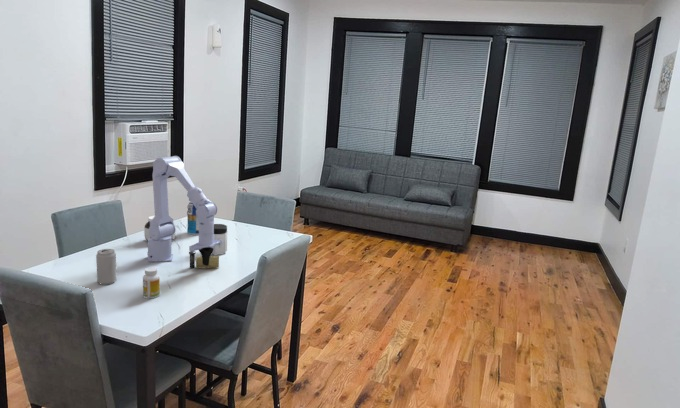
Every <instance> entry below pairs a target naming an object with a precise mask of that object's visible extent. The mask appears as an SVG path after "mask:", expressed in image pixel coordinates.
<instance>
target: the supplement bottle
mask: <svg viewBox="0 0 680 408" xmlns="http://www.w3.org/2000/svg"><path fill="white" fill-rule="evenodd" d="M160 284H161V283H160V275H159V273H158V268H156V267H152V266H151V267H146V268H145V269H144V274H143V276H142V294H143V295H142V296H143V297H144V298H146V299H154V298H157V297H159V296H160V295H161V294H160V291H161V290H160V289H161V288H160V286H161V285H160Z"/></svg>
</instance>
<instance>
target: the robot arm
mask: <svg viewBox="0 0 680 408" xmlns="http://www.w3.org/2000/svg"><path fill="white" fill-rule="evenodd" d="M152 169H153V170H152V175H151V176H152V187H153V192H152V193H153V205H154V209H153V210H154V216H155V217H154V218H153V219H152V220H151V221H150V227H149V235H150V237H151V239H148V241H147V252H146V253H147V254H146V255H147V262H149V263H150V262H172V261H173V255H174V254H173V253H172V240H171V238H172V237H173V234H176V226H175V222H174V218H173V217H172V216H170V213H169V196H168V195H169V193H168V178H169V177H175V178H176V180H177V181H178V182H179V183H180V184H181V185H182V186H183V189H185V190H186V192H187V193H186V196H187V198H188V200H189V199H190V201H191V202H192V203H193V205H194V206H195V208H196V209H197V210H196V215H197V216H198V221H199V235H198V242H197V243H195V244H192V245H188V246H189V249H188V250H189V251H188V252H190V251H191V252H194V251H195V252H196V251H198V252H199V253H200V256H201V257H202V262H203V265H205V266H207V265H209V258H210V257H212V256H211V255H213V254H212V252H213V248H211V247H214V246H216V245H222V240H220V239H218V240H214V224H215V216H216V215H217V212H218V207H217V205H216V203H215V202H213V201H211V200H210V199H208V198H207V196H206V194H204V192H203V190H202V188H201V187H197V186H195V184H194V182H193V181H192V178H191V177H190V176H189V174H188V172H187V171H186V170H185V163H184V162H183V161H182V159H181V158H180V156H178V155H173V156H166V157H157V158H156V159H154V161H152ZM190 201H189V202H190Z"/></svg>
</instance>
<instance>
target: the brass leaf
mask: <svg viewBox="0 0 680 408" xmlns="http://www.w3.org/2000/svg"><path fill="white" fill-rule="evenodd" d="M219 267H220V256H216V255H215V256H213V255H212V256H210V258H209V265H207V266H205V265H203V262H202V256H195V269H209V268H210V269H215V268H217V269H218V268H219Z"/></svg>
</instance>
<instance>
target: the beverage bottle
mask: <svg viewBox="0 0 680 408" xmlns="http://www.w3.org/2000/svg"><path fill="white" fill-rule="evenodd" d="M188 201H189V202H188V205H187V207H186V208H187V212H186V215H187V232H186V233H187V234H188V235H193V236H194V235H195V236H199V221H198V216H197V215H196V210H197V209H196V208H195V206H194V205H193V203H192V202H191V201H190V199H189V198H188Z"/></svg>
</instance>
